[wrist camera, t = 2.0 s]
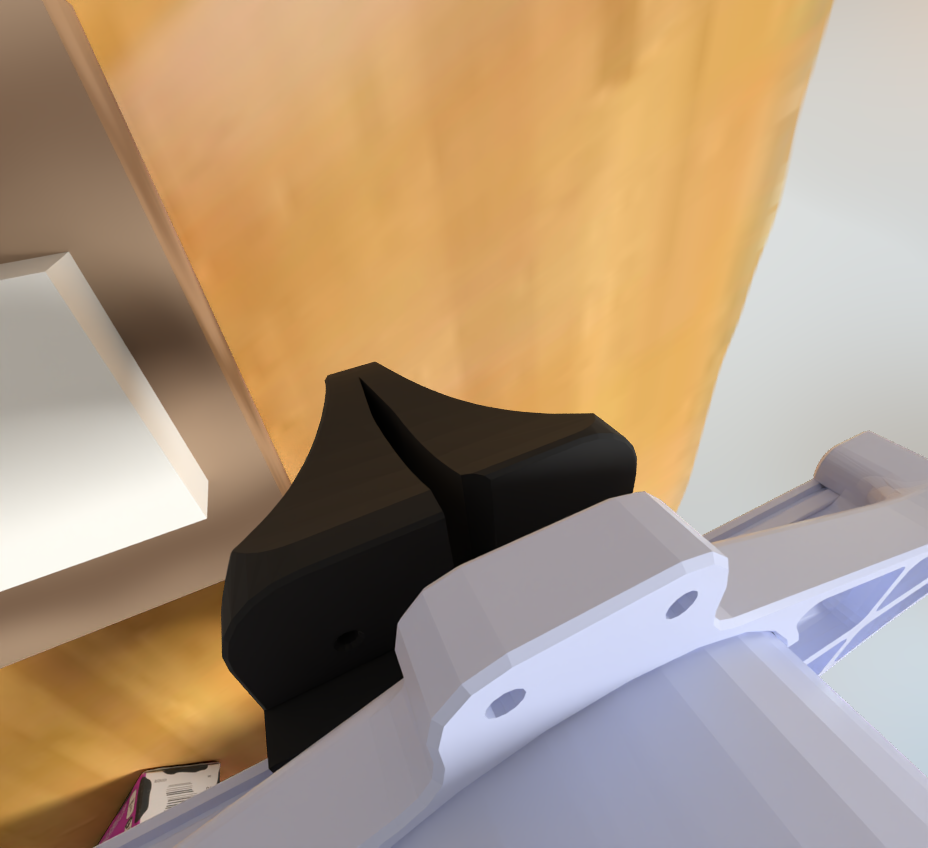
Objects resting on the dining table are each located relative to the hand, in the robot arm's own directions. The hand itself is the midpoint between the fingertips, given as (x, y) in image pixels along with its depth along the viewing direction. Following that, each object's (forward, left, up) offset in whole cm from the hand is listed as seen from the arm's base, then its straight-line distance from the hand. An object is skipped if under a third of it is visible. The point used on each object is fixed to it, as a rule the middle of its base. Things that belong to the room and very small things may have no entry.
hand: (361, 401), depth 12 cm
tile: (0, +8, -5) cm, 10 cm away
